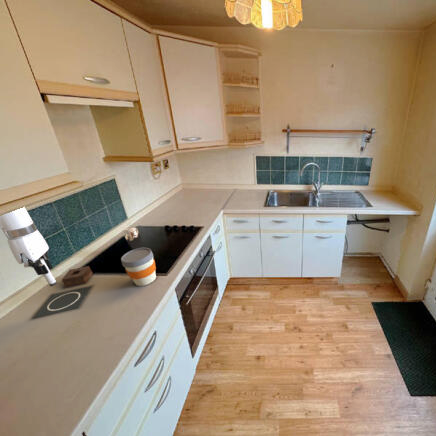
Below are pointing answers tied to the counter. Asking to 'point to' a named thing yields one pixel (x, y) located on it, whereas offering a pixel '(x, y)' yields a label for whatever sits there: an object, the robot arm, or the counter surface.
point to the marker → (48, 275)
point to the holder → (77, 276)
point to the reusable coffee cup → (140, 265)
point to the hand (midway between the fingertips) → (45, 271)
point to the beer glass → (133, 238)
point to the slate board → (63, 302)
